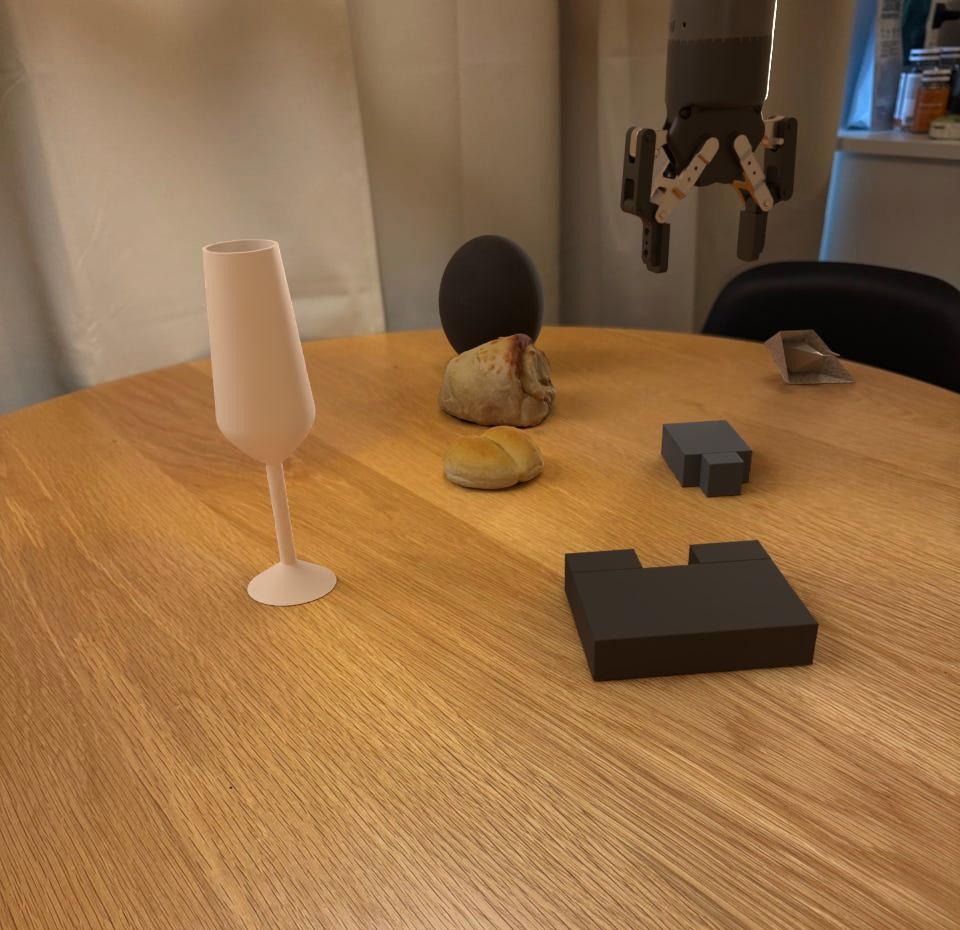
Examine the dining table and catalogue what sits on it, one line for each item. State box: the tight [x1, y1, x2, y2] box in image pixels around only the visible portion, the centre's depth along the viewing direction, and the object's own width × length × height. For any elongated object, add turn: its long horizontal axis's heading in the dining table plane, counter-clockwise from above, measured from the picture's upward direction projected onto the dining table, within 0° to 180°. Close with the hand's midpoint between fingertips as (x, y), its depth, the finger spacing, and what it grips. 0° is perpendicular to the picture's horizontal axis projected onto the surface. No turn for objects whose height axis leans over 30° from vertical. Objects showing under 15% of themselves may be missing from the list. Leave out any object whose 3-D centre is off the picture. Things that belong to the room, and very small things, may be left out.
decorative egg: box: [438, 234, 546, 356], centre depth 117 cm, size 12×12×15 cm
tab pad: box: [660, 419, 753, 498], centre depth 90 cm, size 6×10×3 cm, turn 5°
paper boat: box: [763, 329, 857, 385], centre depth 110 cm, size 12×6×9 cm
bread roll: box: [442, 425, 545, 490], centre depth 91 cm, size 8×9×4 cm
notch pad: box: [564, 539, 820, 682], centre depth 67 cm, size 14×12×3 cm
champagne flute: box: [201, 238, 338, 607], centre depth 69 cm, size 7×7×24 cm
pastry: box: [438, 334, 558, 428], centre depth 106 cm, size 14×12×8 cm
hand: (702, 265), depth 81 cm, fingers open, 8 cm apart
